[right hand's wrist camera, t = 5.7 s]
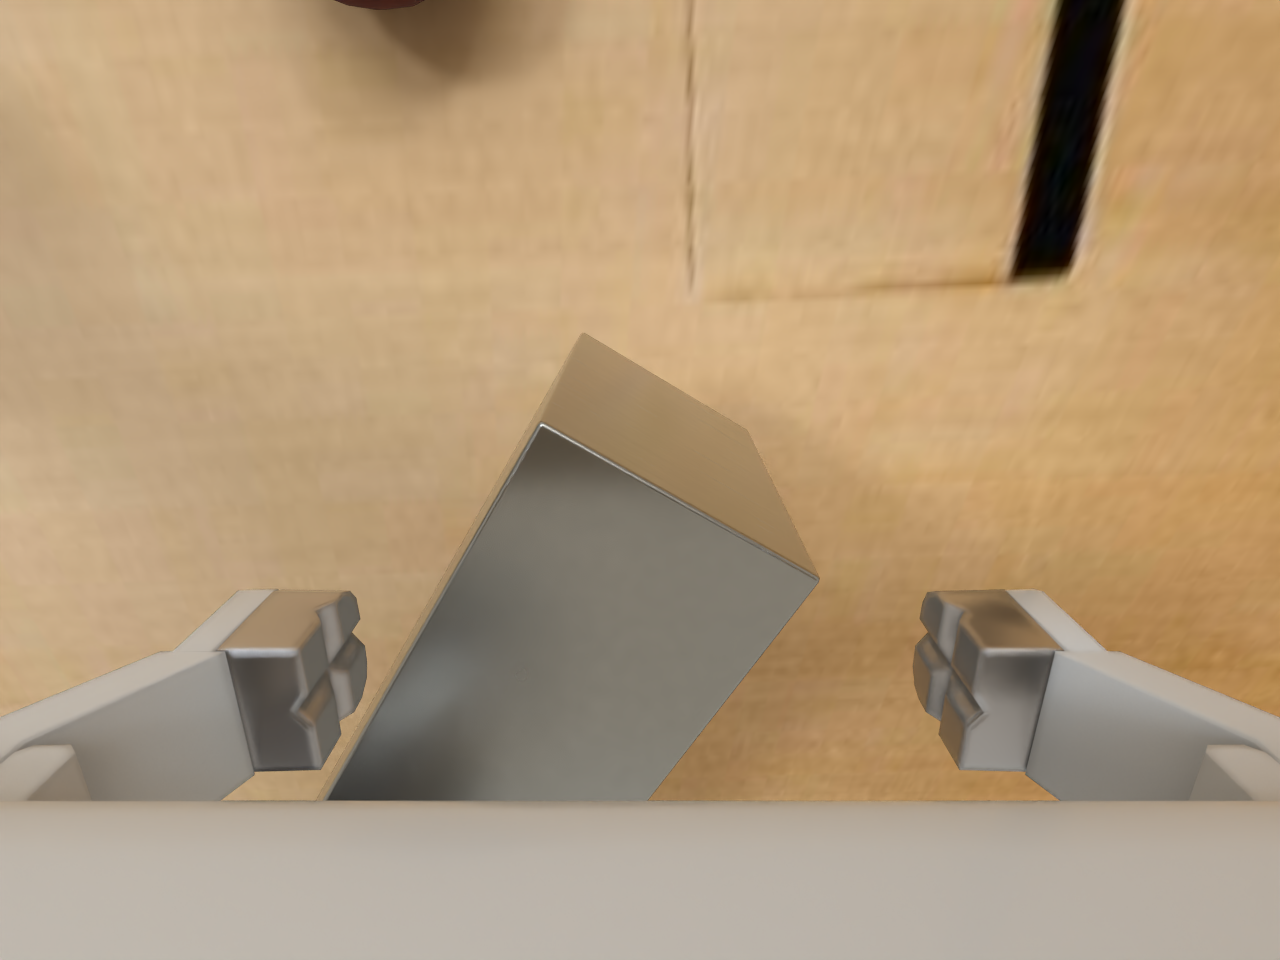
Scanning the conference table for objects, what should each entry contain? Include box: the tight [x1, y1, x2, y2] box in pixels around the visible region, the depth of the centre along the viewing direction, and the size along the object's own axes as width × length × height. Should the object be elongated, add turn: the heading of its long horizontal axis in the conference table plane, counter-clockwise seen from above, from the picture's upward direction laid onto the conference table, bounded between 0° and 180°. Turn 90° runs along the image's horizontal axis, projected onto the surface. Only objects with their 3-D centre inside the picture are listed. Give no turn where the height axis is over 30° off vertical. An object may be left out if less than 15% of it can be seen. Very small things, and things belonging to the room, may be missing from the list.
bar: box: [316, 333, 820, 801], centre depth 21 cm, size 27×6×10 cm, turn 149°
